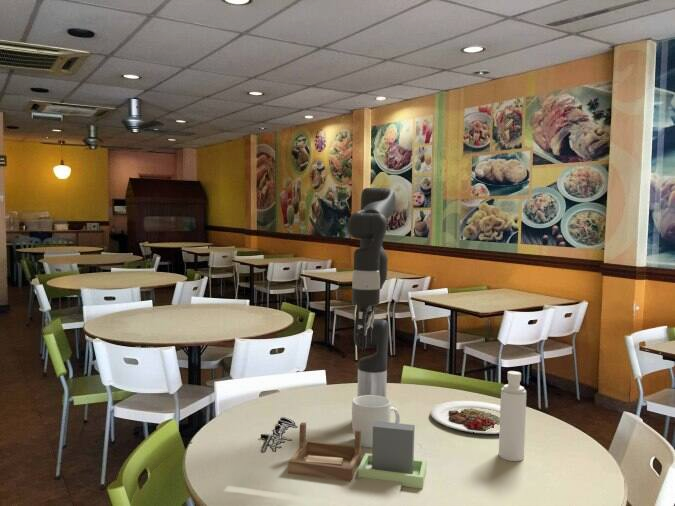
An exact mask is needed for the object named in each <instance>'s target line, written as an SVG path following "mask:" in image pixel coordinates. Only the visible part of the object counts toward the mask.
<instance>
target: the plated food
mask: <svg viewBox="0 0 675 506" xmlns="http://www.w3.org/2000/svg"><path fill="white" fill-rule="evenodd" d="M500 405H501V404H496V403H490V402H485V401H475V400H452V401H447V402H442V403H439V404H436V405H434V406H433V407H432V408H431V410H430V416H431V417H432V419H434V420H435V421H436V422H438V423H439V424H441V425H444V426H445V427H448V428H451V429H455V430H457V431H458V430H459V431H463V432H468V433H473V432H474V433H475V434H487V435H490V434H491V435H493V434H494V435H498V434H499V432H500V431H498V430H497V431H493V432H485V431H486V430H488V429H490V428H494V425H495V424H497V425H500V417H498V416H496V415H494V414H491V413H489V412H487V413H486V412H485V411H480V410H476V409H474V408H480V409H488V410H493V411H496V412H499V413H500ZM457 408H467V409H464V410H461V409H459V410H460V411H459V410H454V409H457ZM469 408H470V409H469ZM495 430H496V429H495ZM474 433H473V434H474Z"/></svg>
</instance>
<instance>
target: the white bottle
mask: <svg viewBox="0 0 675 506" xmlns="http://www.w3.org/2000/svg"><path fill="white" fill-rule="evenodd" d="M506 375H507V378H506V379H507V382H508V383H507V384H504V385H503V386H502V387H501V388H500V404H499V405H500V432H499V435H498V455H499V458H501V459H502V460H504V461H505V460H506V461H510V462H520V461H523V460H524V459H525V445H526V444H525V439H526V418H527V417H526V415H527V390H526V389H525V386H522V385H521V384H520V383H521V381H522V373H521V372H520V371H515V370H509V371H507V374H506Z"/></svg>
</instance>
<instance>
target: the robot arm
mask: <svg viewBox="0 0 675 506" xmlns="http://www.w3.org/2000/svg"><path fill="white" fill-rule="evenodd" d="M396 200H397V199H396V193H395V191H394V190H393V189H391V188H389V187H387V188H385V187H365V188H363V190H362V192H361V196H360V210H357V211H355V212H353V213H352V214H351V215H350V217H349V218H348V220H347V221H348V222H347V225H346V227H347V232H348V234H349V236H350V237H352V238H354V239H356V240H360V244H359V248H356V249H355V250H354V252H353V271H352V272H353V273H352V280H351V283H352V287H351V291H352V292H351V303H352V304H353V305H355V306H356V309H355V310H356V311H355V319H354V327H353V329H354V330H353V342H354V344H355V346H356V347H357V349H358V350H362V351H364V350H366V348H368V349H370V348H371V349H376V352H374V353H373V354H371V355H368V356H365V357H361V358H359V359H358V362H357V394H356V395H357V396H356V397H358V396H363V395H376V396H382V397H385V398H387V378H388V372H387V371H388V348H389V336H390V326H389V322H388V321H387V320H386V319H383V318H382V319H379V318H375V306H378V305H379V304H380V302H381V301H380V300H381V297H380V296H381V294H380V293H381V289H382V287H383V286H384V284H385V282H386V280H387V277H388V255H387V253H386V251H385V249H384V247H383V243H384V239H385V236H386V233H387V231H388V230H387V228H388V220H387V219H388V218H390V217H392V216H393V215H394V212H395V210H396Z"/></svg>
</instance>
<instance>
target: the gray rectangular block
mask: <svg viewBox="0 0 675 506" xmlns="http://www.w3.org/2000/svg"><path fill="white" fill-rule="evenodd" d="M371 450H372V451H371V454H372V462H371V469H374V470H382V471H390V472H398V473H406V474H413V464H414V459H415V457H414V456H415V424H408V423H407V424H406V423H400V422H399V423H395V422H391V421H390V422H380V421H375V423H374V425H373V442H372V448H371Z"/></svg>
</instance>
